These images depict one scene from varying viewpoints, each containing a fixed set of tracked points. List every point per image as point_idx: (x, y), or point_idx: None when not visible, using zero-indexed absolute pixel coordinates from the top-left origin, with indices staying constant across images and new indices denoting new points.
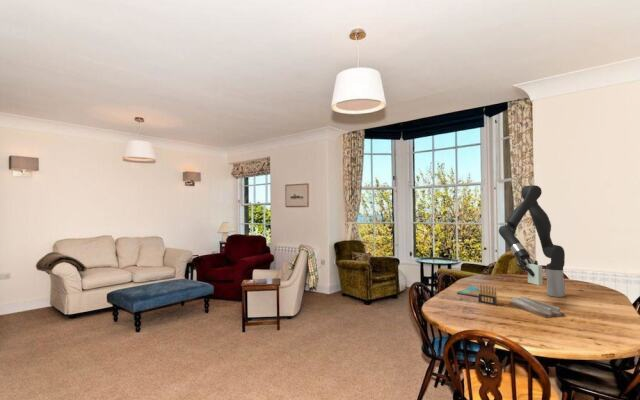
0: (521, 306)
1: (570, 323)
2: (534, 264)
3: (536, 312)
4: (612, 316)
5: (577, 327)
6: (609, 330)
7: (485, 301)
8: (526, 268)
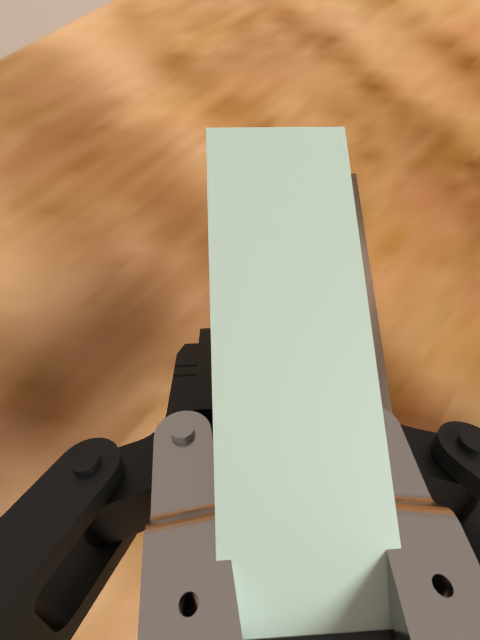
0: (378, 336)
1: (300, 101)
2: (224, 434)
3: (362, 229)
4: (8, 132)
5: (313, 60)
6: (221, 13)
7: None
8: (462, 428)
